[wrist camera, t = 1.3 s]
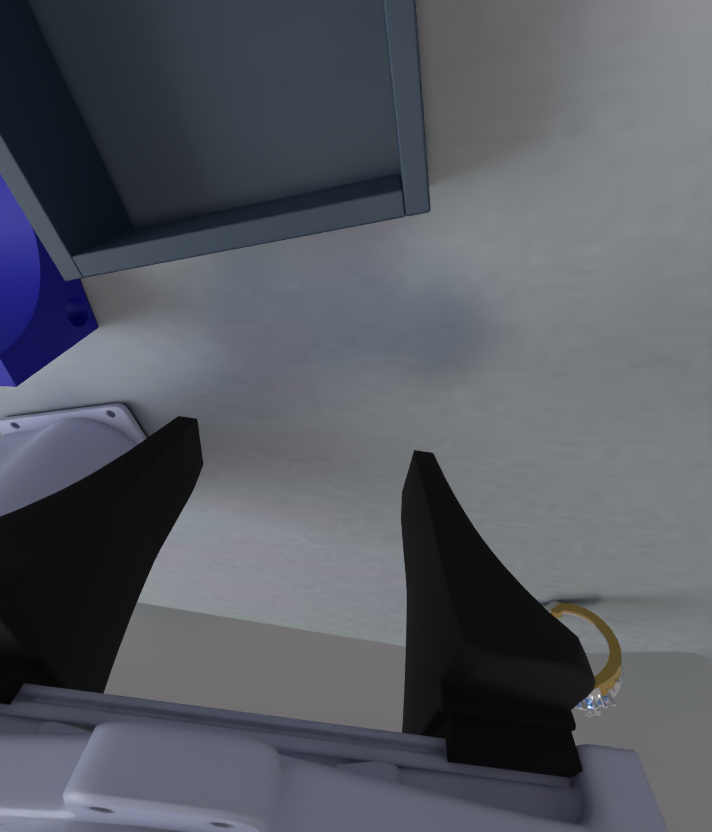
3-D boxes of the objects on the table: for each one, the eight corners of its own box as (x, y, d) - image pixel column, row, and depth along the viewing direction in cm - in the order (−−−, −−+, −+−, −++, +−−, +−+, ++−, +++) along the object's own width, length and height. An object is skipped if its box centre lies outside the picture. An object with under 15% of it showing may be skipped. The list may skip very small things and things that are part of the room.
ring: (597, 587, 33) (646, 701, 26) (598, 607, 35) (645, 719, 28) (508, 598, 35) (534, 707, 28) (514, 617, 36) (540, 723, 30)
